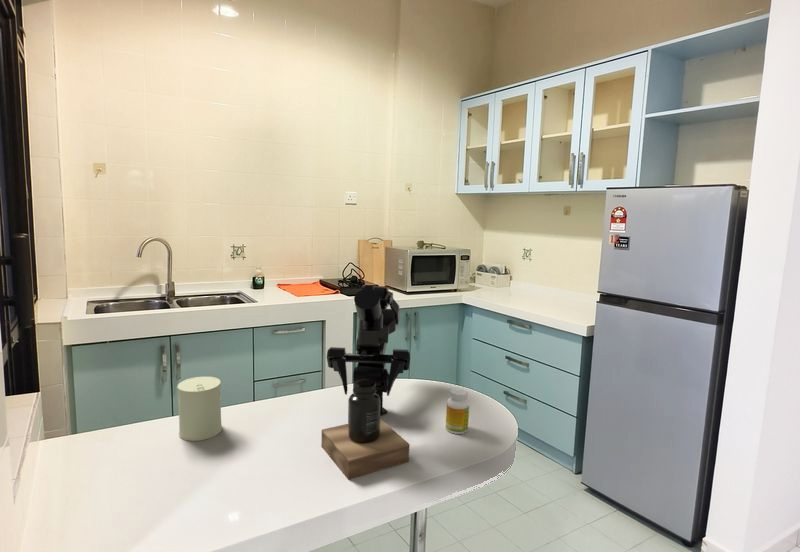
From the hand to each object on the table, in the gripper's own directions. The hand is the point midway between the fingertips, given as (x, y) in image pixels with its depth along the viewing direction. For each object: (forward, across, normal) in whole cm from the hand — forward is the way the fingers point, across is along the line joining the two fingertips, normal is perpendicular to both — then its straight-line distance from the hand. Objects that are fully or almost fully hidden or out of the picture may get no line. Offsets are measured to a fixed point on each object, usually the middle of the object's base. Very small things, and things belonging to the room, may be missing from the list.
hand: (366, 394), depth 105 cm
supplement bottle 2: (+3, +22, +15) cm, 26 cm away
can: (+6, -38, +12) cm, 40 cm away
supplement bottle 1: (+8, 0, +3) cm, 9 cm away
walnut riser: (+11, 0, +6) cm, 13 cm away
